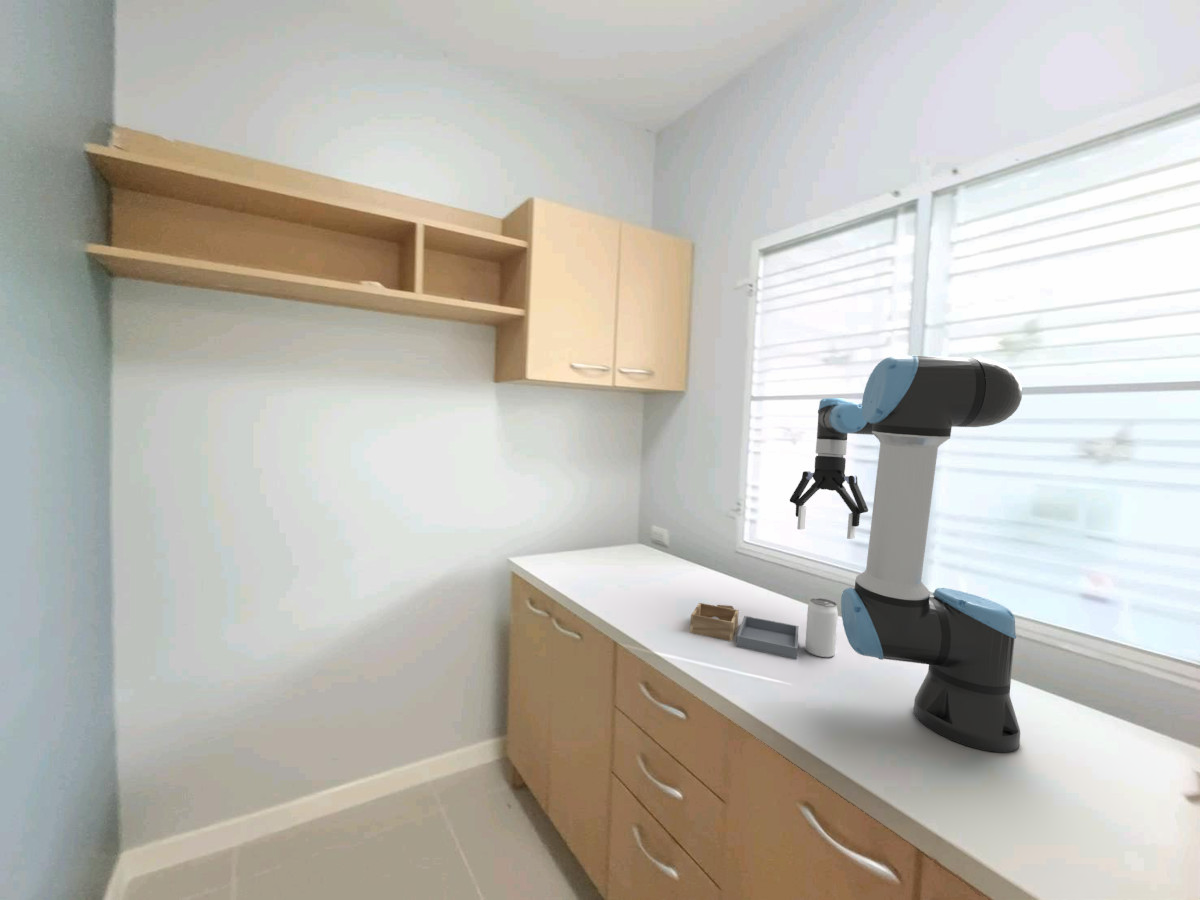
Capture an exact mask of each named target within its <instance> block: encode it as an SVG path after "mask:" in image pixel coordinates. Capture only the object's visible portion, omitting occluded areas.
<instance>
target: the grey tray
mask: <svg viewBox="0 0 1200 900" xmlns="http://www.w3.org/2000/svg"><path fill="white" fill-rule="evenodd" d="M735 645H736V646H735V647H738V648H743V649H746V650H752V651H756V652H761V653H766V654H770V655H774V656H780V657H785V658H789V659H793V660H798V650H799V649H798V648H799V625H795V624H791V623H790V624H789V623H784V622H780V621H779V622H778V621H775V620H768V619H763V618H759V617H753V616H747V615H744V616H743V619H742V622H741V624H740V627H739V630H738V633H737V636H736V644H735Z"/></svg>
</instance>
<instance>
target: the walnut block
mask: <svg viewBox="0 0 1200 900" xmlns="http://www.w3.org/2000/svg"><path fill="white" fill-rule="evenodd" d="M716 606H719V607H725V608H730V609H735V608H734V607H733V605H726V604H716Z"/></svg>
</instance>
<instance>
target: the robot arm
mask: <svg viewBox="0 0 1200 900" xmlns="http://www.w3.org/2000/svg"><path fill="white" fill-rule="evenodd" d="M1022 398H1023V389H1022V384H1021V382H1020V379H1019V378H1018V376H1017V375H1016V374H1015V372H1013V371H1012V370H1011V369H1010V368H1009V367H1007V366H1005V365H1004V364H1002V363H1000V362H998V361H995V360H992V359H987V358H983V357H953V356H952V357H951V356H950V357H949V356H929V355H927V356H926V355H912V354H911V355H902V356H900V355H899V356H898V355H897V356H889V357H885V358H884V359H882V360H881V361H879V362H878V363H877V365H875V367H874V369H873V370H872V372H871V373H870V375H869V377H868V379H867V382H866V385H865V388H864V391H863V395H862V400H861V403H858V402H856V401H854V402H853V401H850V400H849V399H847V398H842V397H841V398H839V397H828V398H822V399H821V400H820V401H819V403H818V404H819V406H818V410H817V414H818V415H817V427H816V428H817V429H816V431H817V432H816V444H815V453H816V454H817V455H816V456H815V458H814V471H813V472H811V471H810V470H808V471H806V470H805V471H803V472H802V475H801V476H802V477H801V479H800V480H799V482H798V484H797V486H796V487H795V490H794V491H793V493H792V495H791V497H790V498H789V502H790V503H793V504H794V505H795V517H796V518H797V527H796V528H797V530H806V529H805V528H806V513H807V512H806V511H807V506H806V505H805V504H806V502H807V501H809V499H811V498H812V497H813V496H814V495H815V494H816V493H817V492H818V491H819V490H824V491H825V490H828V491H835V492H836V493H837V494H838V495H839V496H840V498H841V500H842V501H843V502H844V503H845V504H846V506H847V508H848V509H849V510H850V511H851V512H850V513H848V520H847V533H846V535H847V536H846V539H848V540H851V539H852V540H853V539H855V533H856V527H859V526H860V517H861V514H864V513H868V512H869V508H868V506H867V503H866V501H865V499H864V496H863V494H862V492H861V489H860V486H859V485H858V475H848V476H847V475H846V474H845V471H846V462H847V461H846V460H847V459H846V457H844V456H846V455H847V445H848V444H847V443H848V434H852V435H853V434H854V435H855V434H856V435H871V436H872V435H873V436H875V437H876V439H877V440H878V441H879V452H878V459H877V460H878V461H877V469H876V479H875V485H874V486H875V488H874V497H873V506H872V515H871V522H870V532H869V539H868V540H869V541H868V550H867V551H868V552H867V557H866V568H865V571H863V572H861V573H859V574H858V575H856V576H855V583H854V588H853V587H848V588H844V589H843V591H842V594H841V599H840V610H841V612H840V613H841V619H842V626H843V629H844V633H845V637H846V638H847V641H848V644H849V645H850V647H851V648H852V650H853V651H855V652H856V653H857V654H859V655H860V656H866V657H871V658H876V659H878V660H882V661H883V660H890V661H896V662H897V661H898V662H905V663H914V664H923V665H928V669H927V673H926V675H925V678H924V679H923V681H922V683H921V686H920V687H919V689H918V691H917V693H916V695H915V697H914V700H913V701H914V703H913V714H914V715H915V717H916V718H917V719H918V720H919V722H921V723H922V724H923V725H924V726H926V727H927V728H928V729H930V730H931V731H933V732H935V733H936V734H939V735H940V736H943V737H944V738H946V739H948V740H951V741H953V742H956V743H959V744H961V745H964V746H967V747H971V748H973V749H979V750H982V751H986V752H988V751H989V752H993V753H1009V752H1013V751H1016V750H1017V749H1019V747H1020V743H1021V729H1020V725H1019V722H1018V719H1017V716H1016V711H1015V708H1014V705H1013V702H1012V698H1011V683H1012V671H1013V660H1014V648H1015V639H1016V638H1017V635H1016V617H1015V616H1014V615H1015V614H1013V612H1012V611H1011V610H1010V609H1009V608H1007V607H1006V606H1004V605H1002V604H1000V603H997V602H996V601H992V600H990V599H988V598H984V597H981V596H979V595H976V594H972V593H968V592H964V591H961V590H956V589H954V588H953V589H952V588H947V587H938V588H935V590H934V592H933V593H932V595H933V596H931V592H930V590H929V589H928V588H927V587H926V586H925V584H924V583H923V582H922V578H923V577H922V575H923V569H924V562H925V561H924V560H925V553H926V545H927V538H928V529H929V522H930V521H929V520H930V512H931V507H932V506H931V505H932V498H933V490H934V489H933V488H934V481H935V474H936V473H935V472H936V468H937V467H936V466H937V458H938V449H939V448H940V446H941V445H943V444H944V443H945V442H947V441H948V440H950V439H951V436H952V435H951V434H952V428H953V427H957V428H958V427H959V428H979V427H980V428H981V427H989V426H993V425H997V424H1000V423H1002V422H1004V421H1006V420H1008V418H1010V417H1012V416H1013V414H1015V412H1016V411H1017V410H1018V409H1019V407H1020V405H1021V401H1022ZM810 480H814V482H813V483H812V484H811V485H810V487H809V488H808V489H807V490H806V491H805V489H806V487H807V486H808V484H809V482H810ZM845 482H846V484H847V485H848V486H849V488H850V492H851V494H852V497H853V498H854V499H853V498H852V497H851V496H850V494H849V493H848V491H847V488H846V487H845V486H844V483H845ZM804 491H805V492H804ZM803 492H804V493H803Z"/></svg>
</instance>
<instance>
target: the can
mask: <svg viewBox="0 0 1200 900" xmlns="http://www.w3.org/2000/svg"><path fill="white" fill-rule="evenodd" d="M838 613H839V610H838V608H837V603H836V602H835V601H833V600H831V599H827V598H821V597H814V598H813V597H812V598H810V602H809V604H808V605H807V615H806V616H807V617H806V627H805V642H804V643H805V644H804V649H805V650H806V651H807V652H808V653H809V654H811V655H813V656H815V657H819V658H827V659H828V658H832V657H834V656H835V654H836V645H837V643H836V642H837V634H838V633H837V630H838V617H839V616H838V615H839V614H838Z"/></svg>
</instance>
